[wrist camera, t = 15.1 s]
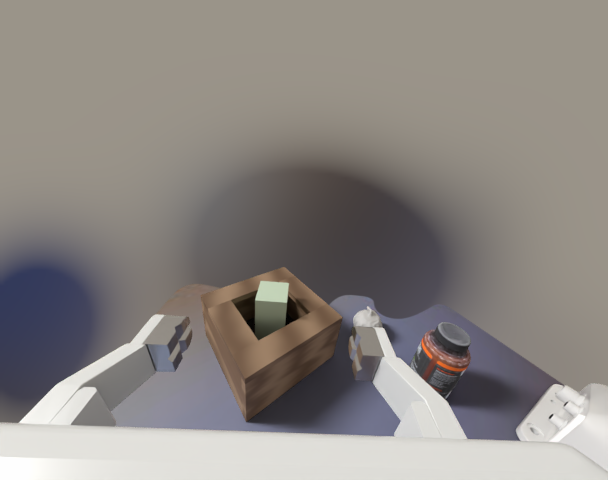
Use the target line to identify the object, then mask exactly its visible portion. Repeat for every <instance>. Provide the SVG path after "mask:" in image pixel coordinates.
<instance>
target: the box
mask: <svg viewBox="0 0 608 480" xmlns="http://www.w3.org/2000/svg"><path fill="white" fill-rule="evenodd" d="M260 281H269V282H282V283H289V287H288V299H287V310H286V312H287V313H288V314H289V316H290V317H291V318H292V319H293V320H294V322H292V323H290V324H288V325H286V326H284V327H283V328H281V329H279V330H277V331H275V332H273V333H271V334H270V335H268V336H266V337H264V338H262V339H260V340H258V339H257V338H256V336H255V335H254V333H253V332H252V330H251V329H250V327H249V326H248V325H247V323H246V322H245V321H248V320H250V319H252V318H254V317H255V299H256V295H257V292H258V288H259V285H260ZM201 302H202V309H203V317H204V324H205V331H206V336H207V338H208V340H209V342H210V344H211V347H212V349H213V351H214V353H215V355H216V358H217V360H218V362H219V364H220V366H221V368H222V371H223V373H224V375H225V377H226V379H227V381H228V384H229V386H230V388H231V390H232V392H233V394H234V397H235V399H236V401H237V403H238V405H239V407H240V410H241V412H242V414H243V416H244V418H245V420H246V422H247V421H248V420H250V419H251V418H252V417H254V416H255V415H256V414H258V413H259V412H260V411H262V410H263V409H264V408H265V407H267V406H268V405H269V404H271V403H272V402H273V401H275V400H276V399H277V398H279V397H280V396H281V395H282V394H284V393H285V392H286V391H288V390H289V389H290V388H292V387H293V386H294V385H296V384H297V383H298V382H299V381H301V380H302V379H303V378H305V377H306V376H307V375H309V374H310V373H311V372H313V371H314V370H315V369H316V368H318V367H319V366H320V365H322V364H323V363H324V362H326V361H327V360H328V359H330V358H331V357H332V356H333V354H334V350H335V346H336V342H337V338H338V334H339V330H340V326H341V322H342V318H343V317H342V316H341V315H339V314H338V313H337V312H336V311H335V310H334V309H332V308H331V307H330V306H329V305H328V304H327V303H325V302H324V301H323V300H322V299H321V298H320V297H318V296H317V295H316V294H315V293H314V292H313V291H311V290H310V289H309V288H308V287H307V286H306V285H304V284H303V283H302V282H301V281H300V280H299V279H297V278H296V277H295V276H294V275H293V274H292V273H290V272H289V271H288V270H287V269H286V268H285V267H283V268H279V269H276V270H274V271H271V272H268V273H265V274H262V275H259V276H256V277H253V278H250V279H247V280H244V281H241V282H238V283H235V284H233V285H229V286H226V287H224V288H220V289H217V290H214V291H212V292H209V293H206V294H203V295H201Z"/></svg>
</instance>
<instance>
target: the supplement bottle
mask: <svg viewBox="0 0 608 480" xmlns="http://www.w3.org/2000/svg"><path fill="white" fill-rule="evenodd" d="M470 344H471V339H470V337H469V335H468V334H467V333H466V332H465V331H464V330H463V329H461V328H460V327H458V326H456V325H454V324H451V323H446V322H443V323H440V324H439V325H438V326H437V328H436V330H430V331H428V332H427V333H426V334H425V335H424V337H423V339H422V341H421V343H420V345H419V347H418V349H417V351H416V353H415V355H414V357H413V359H412V362H411V364H410V366H409V367H410V368H411V369H412V370H413V371H415V372H416V373H417V374H418V375H419V376H420V377H421V378H422V379H423V380H424V381H425V382H426V383H428V384H429V385H430V386H431V387H432V388H433V389H434V390H435V391H436V392H437V393H438V394H439V395H441V396H442V397H443V398H444V399H446V398H447V397H448V396H449V394H450V393H451V391H452V390H453V388H454V387H455V385H456V384H457V382H458V381H459V379H460V377H461V376H462V375H463V373H464V371H465V370H466V368H467V367H468V365H469V363H470V360H471V357H470V353H469V350H468V347H469V345H470Z"/></svg>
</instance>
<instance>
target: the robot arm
mask: <svg viewBox="0 0 608 480" xmlns="http://www.w3.org/2000/svg"><path fill="white" fill-rule="evenodd" d="M189 323H190V320H189V317H183V316H171V315H157V314H156V315H154V316H152V317H151V318H150V320H149V321H148V322H147V323H146V325H145V326H144V327H143V328H142V329H141V331H140V332H139V333H138V334H137V336H136V337H135V338H134V339H133V340H132V342H131V343H130V344H125V345H123V346H121V347H120V348H118V349H116V350H115V351H113V352H111V353H110V354H108V355H106V356H104V357H103V358H101V359H99V360H97V361H96V362H94V363H92V364H91V365H89V366H87V367H86V368H84V369H82V370H80V371H79V372H77V373H75V374H73V375H72V376H70V377H68V378H67V379H65V380H63V381H62V382H60V383H58V384H56V385H55V387H53V389H52V390H51V391H50V392H49V393H48V394H47V395H46V396H45V397H44V398H43V399H42V400H41V401H40V402H39V403H38V404H37V405H36V406H35V407H34V408H33V409H32V410H31V411H30V412H29V413H28V414H27V415H26V416H25V417H24V418H23V419H22V420H21V421H20V422H19V423H0V480H608V386H605V385H601V384H594V383H592V384H589V385H588V386H586V387H585V388H584V389H583V390H582V391H581V392H577V391H575V390H574V389H572V388H570V387H569V386H567V385H564V386H561V385H558V384H554V385H552V386H551V387H549V389H548V390H547V391H546V392H545V393H544V395H543V396H542V397H541V398H540V400H539V401H538V402H537V403H536V405H535V406H534V407H533V408H532V410H531V411H530V412H529V413H528V414H527V416H526V417H525V418H524V419H523V421H522V422H521V423H520V424H519V426H518V427H517V428H516V433H517V435H518V437H519V439H520V440H521V441H507V440H479V439H467V438H466V436H465V434H464V432H463V430H462V428H461V426H460V425H459V423H458V421H457V419H456V417H455V415H454V413H453V411H452V410H451V408H450V406H449V404H448V402H447V401H446V400H445V399H444V398H443V397H442V396H441V395H439V394H438V393H437V392H436V391H435V390H434V389H433V388H432V387H431V386H430V385H429V384H428V383H426V382H425V381H424V380H423V379H422V378H421V377H420V376H419V375H418V374H417V373H416V372H415V371H413V370H412V369H411V368H410V367H409V366H408V365H407V364H406V363H405V362H404V361H403V360H402V359H400V358H397V357H396V355H395V352H394V350H393V348H392V345H391V343H390V341H389V338H388V336H387V334H386V331H385V329H384V328H379V327H360V326H353V328H352V331H351V332H352V336H351V337H350V339H349V355H350V358H351V359H352V360H353V364H352V369H353V374H354V379H355V380H359V381H372V383H373V384H374V385H375V387H376V388H377V389H378V391H379V392H380V393H381V395H382V396H383V397H384V399H385V400H386V401H387V403H388V404H389V405H390V407H391V408H392V410H393V411H394V412H395V414H396V415H397V416H398V418H399V419H400V420H401V422H400V424H399V426H398V428H397V429H396V431H395V433H394V435H395V437H393V436H365V435H337V434H309V433H282V432H254V431H226V430H197V429H169V428H140V427H115V425H116V420H115V418H114V417H113V415H112V413H111V411H112V410H113V409H114V408H115V407H116V406H118V405H119V404H120V403H121V402H122V401H123V400H125V399H126V398H127V397H128V396H129V395H130V394H131V393H133V392H134V391H135V390H136V389H137V388H138V387H140V386H141V385H142V384H143V383H144V382H145V381H147V380H148V379H149V378H150V377H151V376H152V375H153V374H155V373H156V372H155V371H162V372H175V371H176V369H177V367H178V365H179V364H180V362H181V360H182V353H183V352H184V351H185V350H187V349H188V347H189V345H190V342H191V339H192V329H191V328H190V327H189V326H188V325H189Z"/></svg>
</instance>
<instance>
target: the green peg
mask: <svg viewBox="0 0 608 480" xmlns="http://www.w3.org/2000/svg"><path fill="white" fill-rule="evenodd" d="M288 287H289V283H282V282H269V281H260V285H259V288H258V292H257V295H256V299H255V336H256V338H257V339H258V340H260V339H262V338H264V337H266V336H268V335H270V334H271V333H273V332H275V331H277V330H279V329H281V328H283V327H284V326H285V322H286V310H287V299H288Z"/></svg>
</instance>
